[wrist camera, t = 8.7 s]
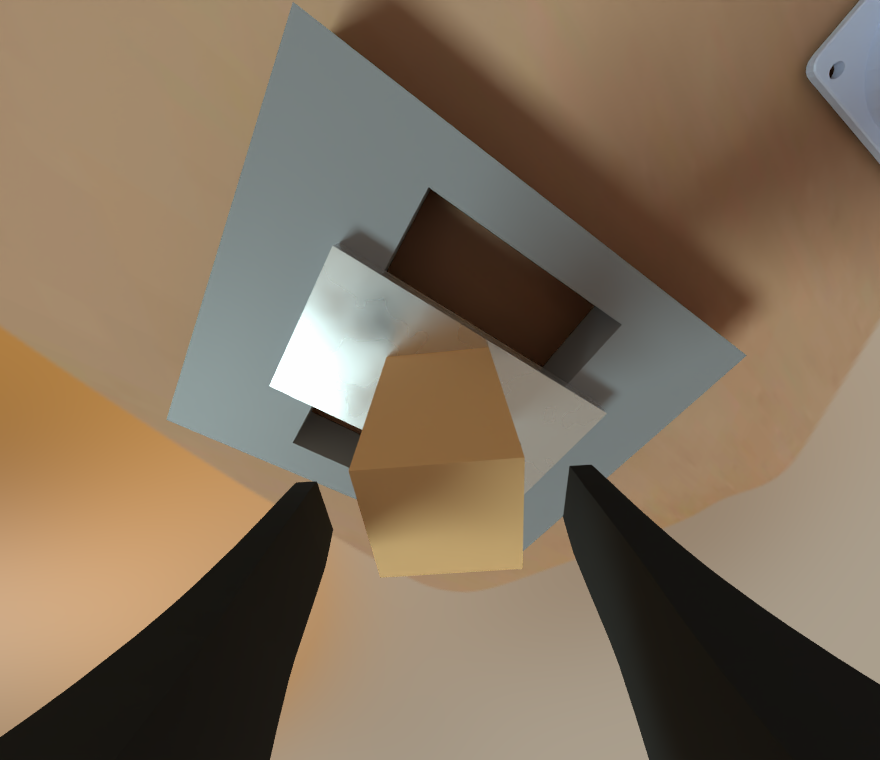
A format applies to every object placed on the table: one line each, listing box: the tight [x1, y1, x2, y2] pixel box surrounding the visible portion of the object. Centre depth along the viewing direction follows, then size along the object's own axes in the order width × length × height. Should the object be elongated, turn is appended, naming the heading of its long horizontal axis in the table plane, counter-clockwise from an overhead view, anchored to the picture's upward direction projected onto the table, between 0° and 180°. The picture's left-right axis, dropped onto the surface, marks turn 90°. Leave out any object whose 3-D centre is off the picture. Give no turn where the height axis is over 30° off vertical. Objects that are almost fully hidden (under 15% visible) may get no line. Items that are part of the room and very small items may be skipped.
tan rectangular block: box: [349, 347, 525, 577], centre depth 13 cm, size 4×4×7 cm
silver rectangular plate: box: [270, 242, 607, 494], centre depth 16 cm, size 14×7×1 cm, turn 58°
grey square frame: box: [167, 2, 747, 551], centre depth 18 cm, size 22×18×3 cm
